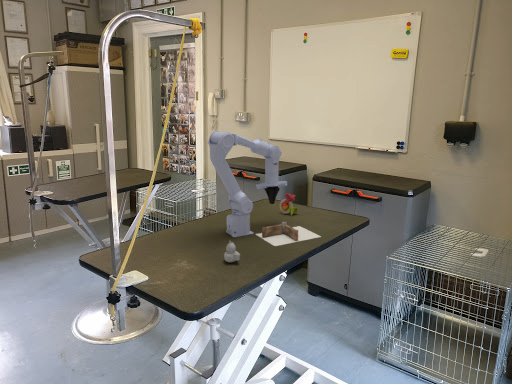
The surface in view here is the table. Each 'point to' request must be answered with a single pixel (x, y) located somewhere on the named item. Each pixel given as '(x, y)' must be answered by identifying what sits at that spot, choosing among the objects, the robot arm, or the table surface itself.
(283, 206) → the bird rattle
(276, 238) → the card
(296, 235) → the brown wooden bar
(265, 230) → the fixed fence section
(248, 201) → the robot arm
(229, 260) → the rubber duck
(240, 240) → the table surface
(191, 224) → the table surface
